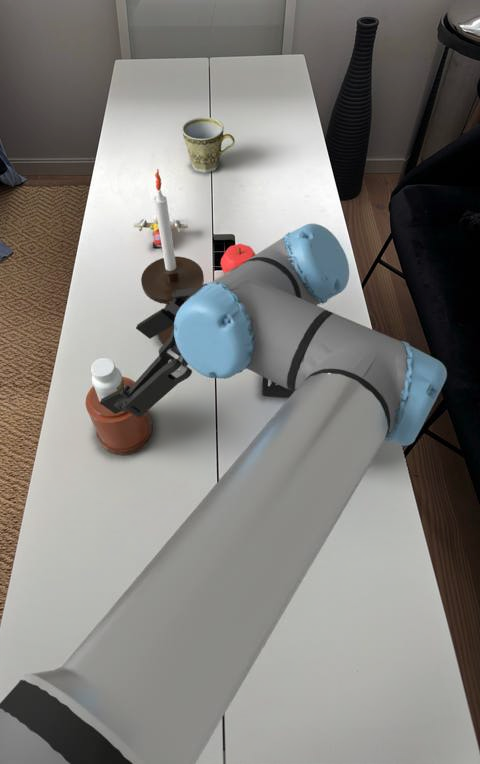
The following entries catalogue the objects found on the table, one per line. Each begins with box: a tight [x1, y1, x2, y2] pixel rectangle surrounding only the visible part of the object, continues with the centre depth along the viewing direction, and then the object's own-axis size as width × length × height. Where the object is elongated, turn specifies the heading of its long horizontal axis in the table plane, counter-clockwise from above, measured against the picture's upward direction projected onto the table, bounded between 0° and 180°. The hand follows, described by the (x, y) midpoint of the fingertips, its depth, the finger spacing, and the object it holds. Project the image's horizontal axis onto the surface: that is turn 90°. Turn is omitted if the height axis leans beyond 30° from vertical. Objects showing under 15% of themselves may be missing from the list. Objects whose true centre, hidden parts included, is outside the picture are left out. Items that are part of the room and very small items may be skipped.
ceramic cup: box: [181, 116, 236, 174], centre depth 135 cm, size 13×10×10 cm
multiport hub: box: [261, 376, 294, 399], centre depth 98 cm, size 4×11×2 cm, turn 85°
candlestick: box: [140, 168, 205, 346], centre depth 93 cm, size 11×11×35 cm
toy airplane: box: [133, 214, 188, 249], centre depth 121 cm, size 9×9×6 cm
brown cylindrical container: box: [85, 376, 154, 456], centre depth 90 cm, size 9×9×11 cm
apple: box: [220, 243, 257, 274], centre depth 112 cm, size 8×8×8 cm
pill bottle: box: [90, 357, 125, 401], centre depth 82 cm, size 4×4×8 cm
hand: (126, 367), depth 77 cm, fingers open, 13 cm apart
